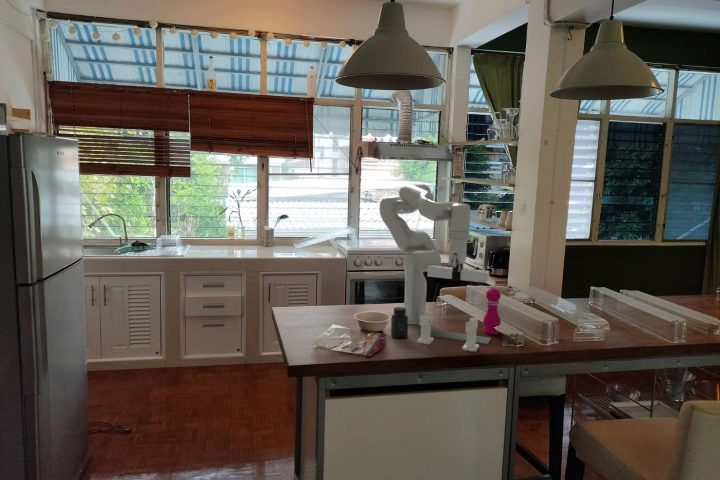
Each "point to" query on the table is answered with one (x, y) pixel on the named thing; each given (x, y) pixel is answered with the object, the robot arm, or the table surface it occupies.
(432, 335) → the mat
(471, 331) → the post right
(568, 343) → the table surface
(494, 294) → the pepper mill
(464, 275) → the rail
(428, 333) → the post left
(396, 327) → the supplement bottle
